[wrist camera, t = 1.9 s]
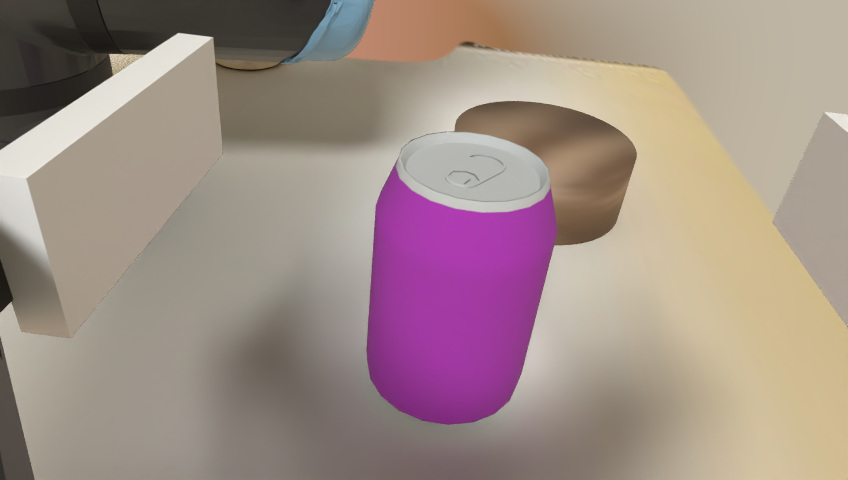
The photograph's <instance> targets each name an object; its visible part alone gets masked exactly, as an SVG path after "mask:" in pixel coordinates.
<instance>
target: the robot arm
mask: <svg viewBox="0 0 848 480" xmlns="http://www.w3.org/2000/svg"><path fill="white" fill-rule="evenodd" d="M374 1H375V0H0V312H1V311H2V310H3V309H4V308H5V307H6V306H7V305H8V304H9V303H10V302H11V301H12V304H13V308H14V311H15V314H16V317H17V320H18V323H19V326H20V329H21V332H27V333H34V334H42V335H49V336H57V337H64V338H71V337H72V336H73V335H74V334H75V332H76V331H77V330H78V329H79V328H80V326H81V325H82V324H83V323H84V322H85V320H86V319H87V318H88V317H89V315H90V314H91V313H92V312H93V311H94V309H95V308H96V307H97V306H98V304H99V303H100V302H101V301H102V300H103V298H104V297H105V296H106V295H107V294H108V292H109V291H110V290H111V289H112V287H113V286H114V285H115V284H116V283H117V281H118V280H119V279H120V278H121V276H122V275H123V274H124V273H125V272H126V270H127V269H128V268H129V267H130V266H131V264H132V263H133V262H134V261H135V259H136V258H137V257H138V256H139V255H140V253H141V252H142V251H143V250H144V248H145V247H146V246H147V245H148V244H149V242H150V241H151V240H152V239H153V238H154V236H155V235H156V234H157V233H158V231H159V230H160V229H161V228H162V227H163V225H164V224H165V223H166V222H167V220H168V219H169V218H170V217H171V216H172V214H173V213H174V212H175V211H176V210H177V208H178V207H179V206H180V205H181V203H182V202H183V201H184V200H185V199H186V197H187V196H188V195H189V194H190V192H191V191H192V190H193V189H194V188H195V186H196V185H197V184H198V183H199V182H200V180H201V179H202V178H203V177H204V175H205V174H206V173H207V172H208V171H209V169H210V168H211V167H212V166H213V164H214V163H215V162H216V161H217V160H218V158H219V157H220V156H221V155H222V154H223V147H222V135H221V124H220V112H219V100H218V89H217V77H216V65H215V59H225V60H243V61H262V62H279V63H281V64H294V63H297V62H300V61H322V60H337V59H340V58H342V57H344V56H346V55H347V54H349V53H350V52H351V51H352V50H354V48H355V47H356V46H357V45H358V43H359V42H360V40H361V38H362V36H363V34H364V32H365V30H366V28H367V25H368V22H369V19H370V16H371V12H372V9H373V4H374ZM109 54H135V55H144V56H143V57H141V58H139V59H138V60H136V61H135V62H133V63H132V64H130V65H129V66H127V67H126V68H124V69H123V70H121V71H120V72H118V73H117V74H115V75H114V76H113V73H112V67H111V62H110V56H109ZM772 223H773V224H774V225H775V227H776V228H777V230H778V231H779V232H780V234H781V235H782V237H783V238H784V239H785V241H786V242H787V244H788V245H789V246H790V248H791V249H792V251H793V252H794V253H795V255H796V256H797V257H798V259H799V260H800V262H801V263H802V264H803V266H804V267H805V269H806V270H807V271H808V273H809V274H810V276H811V277H812V278H813V280H814V281H815V283H816V284H817V285H818V287H819V288H820V290H821V291H822V292H823V294H824V295H825V297H826V298H827V299H828V301H829V302H830V304H831V305H832V306H833V308H834V309H835V311H836V312H837V313H838V315H839V316H840V318H841V319H842V320H843V322H844V323H845V325H846V326H847V327H848V115H845V114H837V113H829V112H823V114H822V116H821V118H820V120H819V122H818V124H817V127H816V129H815V131H814V133H813V135H812V137H811V139H810V142H809V144H808V146H807V148H806V150H805V152H804V155H803V157H802V159H801V161H800V163H799V165H798V167H797V170H796V172H795V174H794V176H793V179H792V180H791V183H790V185H789V187H788V189H787V191H786V193H785V196H784V198H783V200H782V202H781V204H780V206H779V208H778V210H777V213H776V215H775V217H774V219H773V221H772ZM0 480H34V476H33V471H32V467H31V463H30V459H29V455H28V450H27V446H26V442H25V438H24V434H23V430H22V425H21V421H20V417H19V413H18V409H17V404H16V400H15V396H14V392H13V388H12V384H11V379H10V375H9V371H8V367H7V363H6V359H5V354H4V350H3V346H2V342H1V338H0Z"/></svg>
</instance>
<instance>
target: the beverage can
mask: <svg viewBox="0 0 848 480" xmlns="http://www.w3.org/2000/svg"><path fill="white" fill-rule="evenodd" d="M556 236H557V223H556V215H555V209H554V203H553V197H552V191H551V185H550V173H549V168H548V167H547V166H546V164H545V163H544V162H543V160H542V159H541V158H540V157H539V156H537V155H536V154H534V153H533V152H532V151H530V150H529V149H527V148H525V147H523V146H521V145H518V144H516V143H514V142H512V141H509V140H506V139H502V138H499V137H495V136H491V135H487V134H480V133H472V132H440V133H433V134H427V135H424V136H422V137H419V138H416V139H413V140H411V141H410V142H409V143H408V144H406V145H405V146H404V147H403V148H402V149H401V152H400V155H399V157H398V159H397V161H396V163H395V165H394V167H393V169H392V171H391V173H390V175H389V177H388V179H387V181H386V183H385V185H384V187H383V189H382V191H381V193H380V196H379V198H378V201H377V204H376V211H375V227H374V242H373V258H372V273H371V289H370V304H369V320H368V336H367V362H368V367H369V373H370V379H371V381H372V382H373V384H374V385H375V387H376V388H377V390H378V392H379V393H380V395H381V396H382V397H383V398H384V399H386V400H387V401H388V402H389V403H391V404H392V405H393V406H394V407H395V408H397V409H398V410H399V411H401V412H404V413H406V414H408V415H411V416H413V417H415V418H418V419H420V420H422V421H429V422H435V423H441V424H447V425H449V424H460V423H470V422H475V421H477V420H480V419H482V418H485V417H487V416H490V415H492V414H495V413H496V412H497V411H498V410H499V409H500V408H501V407H503V406H504V405H505V404H506V403H507V402H508V401H509V400H510V398H511V396H512V394H513V391H514V389H515V387H516V385H517V383H518V380H519V378H520V375H521V372H522V369H523V365H524V361H525V357H526V353H527V349H528V345H529V341H530V337H531V333H532V329H533V326H534V322H535V318H536V314H537V310H538V306H539V302H540V298H541V294H542V290H543V286H544V283H545V279H546V275H547V271H548V267H549V263H550V259H551V255H552V251H553V247H554V244H555V240H556Z"/></svg>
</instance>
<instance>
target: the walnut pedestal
mask: <svg viewBox="0 0 848 480" xmlns="http://www.w3.org/2000/svg"><path fill="white" fill-rule="evenodd" d="M454 132H472V133H480V134H487V135H491V136H495V137H499V138H502V139H506V140H509V141H512V142H514V143H516V144H518V145H521V146H523V147H525V148H527V149H529V150H530V151H532V152H533V153H534V154H536V155H537V156H539V157H540V158H541V159H542V160H543V162H544V163H545V164H546V166H547V167H548V168H549V173H550V185H551V191H552V197H553V203H554V209H555V215H556V223H557V236H556V240H555V244H554V245H570V244H578V243H584V242H588V241H591V240H594V239H597V238H599V237H601V236H603V235H605V234H606V233H608V232H609V231H610V230H611V229H612V228H613V227H614V225H615V224H616V221H617V218H618V215H619V212H620V209H621V205H622V202H623V199H624V196H625V193H626V190H627V186H628V183H629V180H630V177H631V174H632V171H633V167H634V164H635V161H636V158H637V152H636V149H635V147H634V145H633V143H632V142H631V141H630V140H629V138H628V137H627V136H625V135H624V134H623V133H622V132H621V131H619V130H618V129H616V128H615V127H613V126H611V125H610V124H608V123H606V122H604V121H602V120H600V119H598V118H595V117H593V116H590V115H588V114H585V113H582V112H579V111H576V110H572V109H568V108H564V107H560V106H555V105H550V104H543V103H536V102H523V101H505V102H494V103H487V104H483V105H479V106H476V107H473V108H471V109H468V110H467V111H465V112H464V113H462V114H461V115H460V116H459V118H458V119H457V121H456V124H455V131H454Z"/></svg>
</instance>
